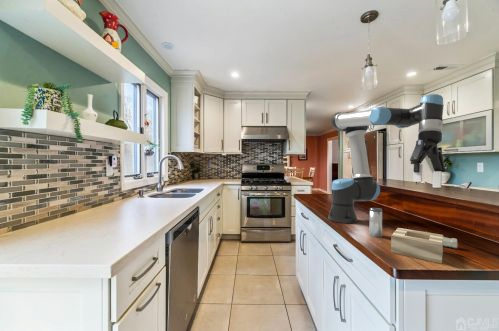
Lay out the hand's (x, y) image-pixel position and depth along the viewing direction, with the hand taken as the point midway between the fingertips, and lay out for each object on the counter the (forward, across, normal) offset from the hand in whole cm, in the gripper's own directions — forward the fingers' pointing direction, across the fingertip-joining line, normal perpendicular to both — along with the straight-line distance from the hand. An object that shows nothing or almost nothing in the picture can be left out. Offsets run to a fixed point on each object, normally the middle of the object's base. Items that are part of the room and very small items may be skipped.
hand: (427, 184), depth 89 cm
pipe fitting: (+22, +12, 0) cm, 26 cm away
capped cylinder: (+24, -1, +19) cm, 30 cm away
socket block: (+26, -5, 0) cm, 26 cm away
